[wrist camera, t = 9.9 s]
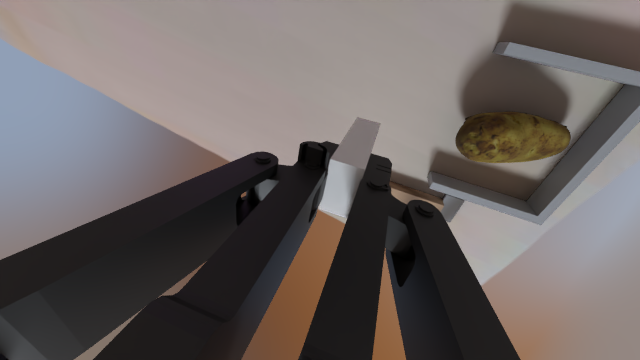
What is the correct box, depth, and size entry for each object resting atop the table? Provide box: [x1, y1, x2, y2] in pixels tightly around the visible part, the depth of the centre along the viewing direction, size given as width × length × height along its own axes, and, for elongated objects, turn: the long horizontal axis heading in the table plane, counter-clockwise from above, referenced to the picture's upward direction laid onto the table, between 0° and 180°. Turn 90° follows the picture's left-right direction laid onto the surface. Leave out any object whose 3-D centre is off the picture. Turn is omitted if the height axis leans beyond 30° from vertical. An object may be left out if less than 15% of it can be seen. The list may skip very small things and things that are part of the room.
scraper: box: [389, 181, 464, 222], centre depth 43 cm, size 14×5×2 cm, turn 78°
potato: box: [456, 112, 571, 163], centre depth 32 cm, size 8×13×8 cm, turn 68°
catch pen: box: [427, 42, 640, 225], centre depth 33 cm, size 20×16×4 cm
